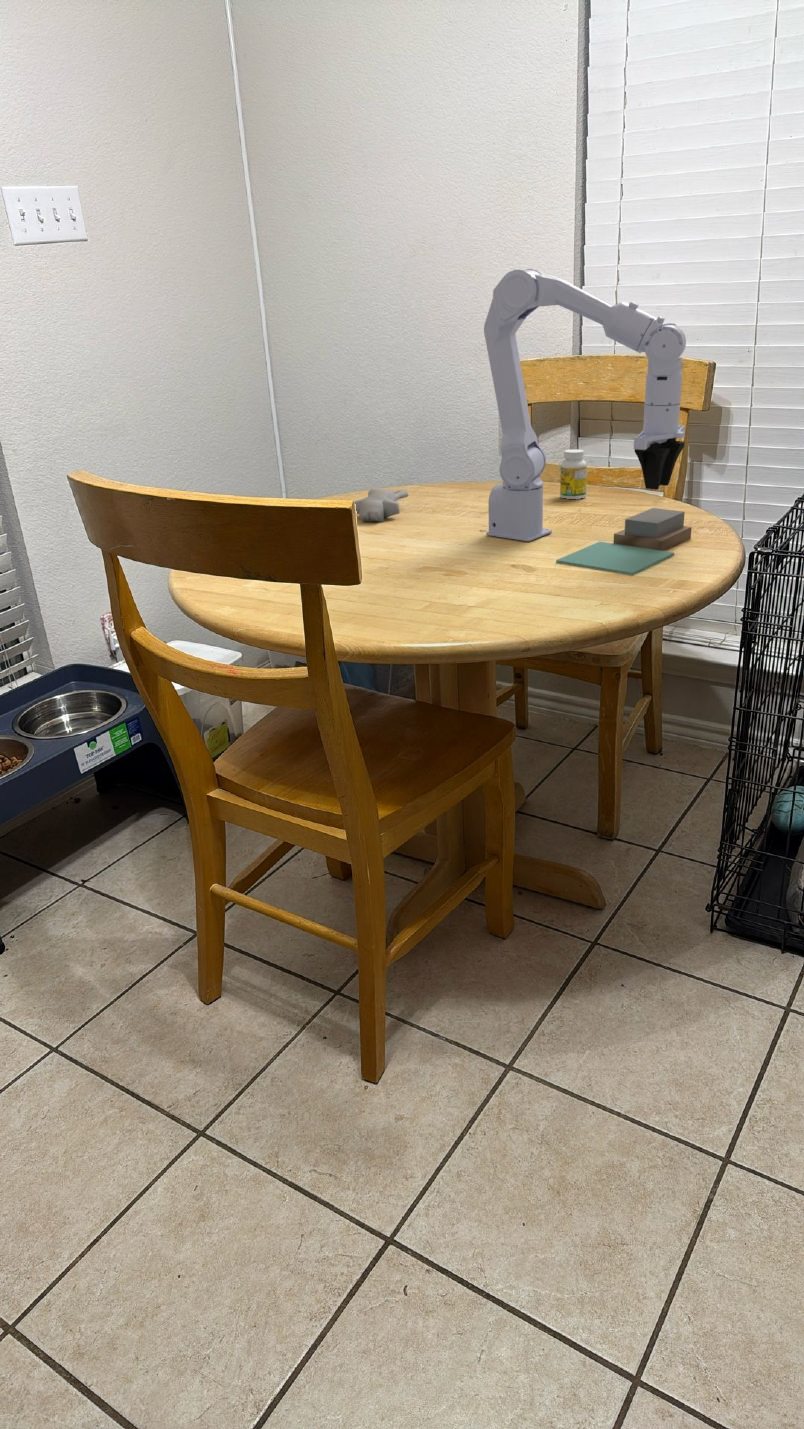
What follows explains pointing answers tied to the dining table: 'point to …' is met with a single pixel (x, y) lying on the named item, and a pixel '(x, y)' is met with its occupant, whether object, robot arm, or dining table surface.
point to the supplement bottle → (573, 475)
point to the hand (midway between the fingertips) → (657, 486)
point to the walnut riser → (654, 539)
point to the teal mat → (615, 558)
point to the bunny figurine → (379, 504)
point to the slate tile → (654, 522)
